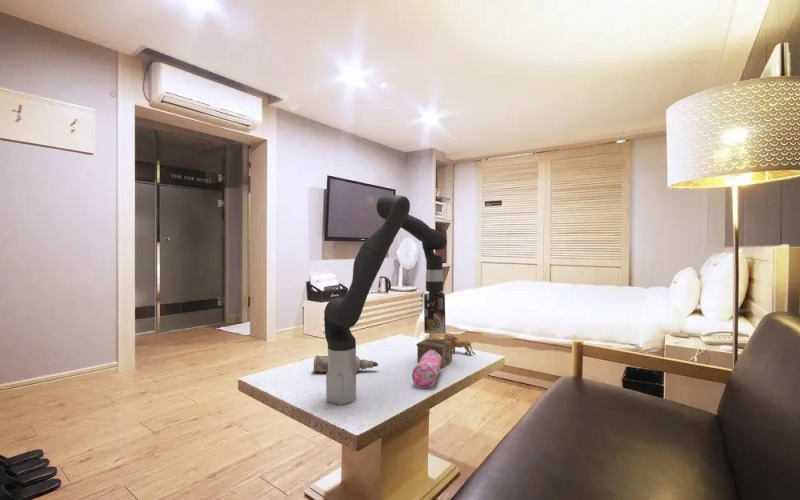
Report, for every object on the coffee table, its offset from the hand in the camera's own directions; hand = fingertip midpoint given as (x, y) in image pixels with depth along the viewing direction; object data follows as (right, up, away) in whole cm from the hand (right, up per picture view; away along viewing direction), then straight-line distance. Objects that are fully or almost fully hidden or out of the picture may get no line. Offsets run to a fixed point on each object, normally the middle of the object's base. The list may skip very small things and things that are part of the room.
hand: (434, 317), depth 160 cm
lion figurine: (+12, -20, +13) cm, 27 cm away
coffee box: (0, -6, 0) cm, 6 cm away
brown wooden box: (0, -20, 0) cm, 20 cm away
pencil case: (-4, -20, -19) cm, 28 cm away
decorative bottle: (-38, -20, -11) cm, 44 cm away
